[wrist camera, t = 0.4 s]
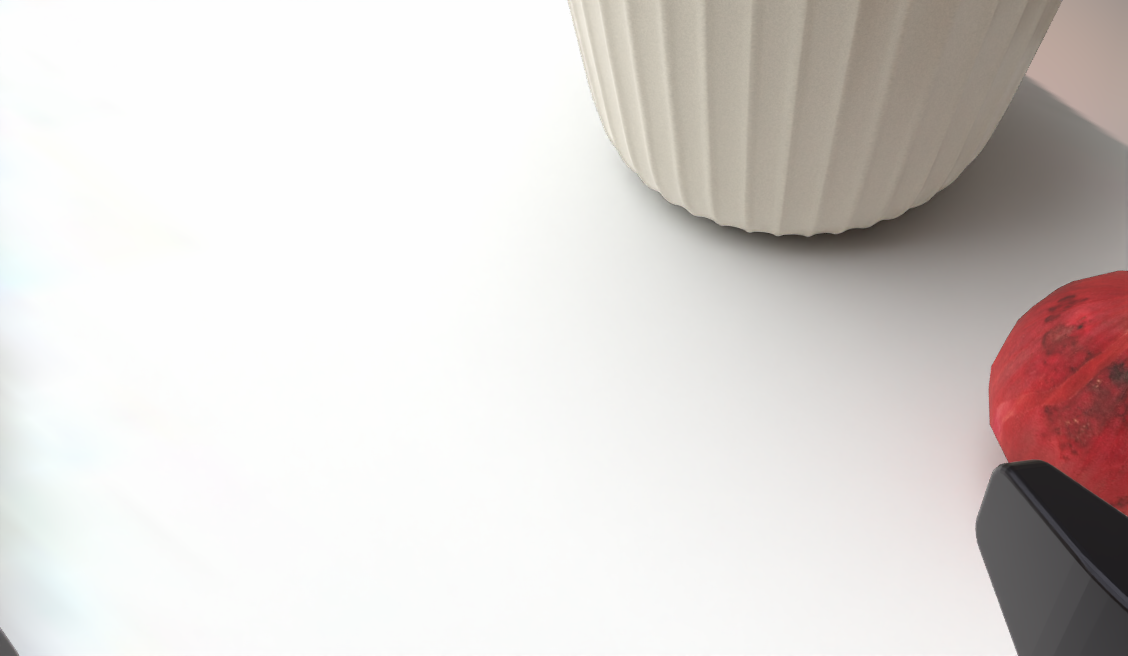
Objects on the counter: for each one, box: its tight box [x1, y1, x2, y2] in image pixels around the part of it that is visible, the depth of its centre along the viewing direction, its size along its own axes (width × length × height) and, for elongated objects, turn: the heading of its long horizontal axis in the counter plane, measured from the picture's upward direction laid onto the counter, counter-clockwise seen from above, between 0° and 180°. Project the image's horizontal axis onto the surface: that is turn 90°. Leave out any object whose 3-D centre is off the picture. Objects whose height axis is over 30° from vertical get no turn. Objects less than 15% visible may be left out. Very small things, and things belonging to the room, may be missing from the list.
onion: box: [989, 271, 1128, 516], centre depth 24 cm, size 6×6×8 cm
